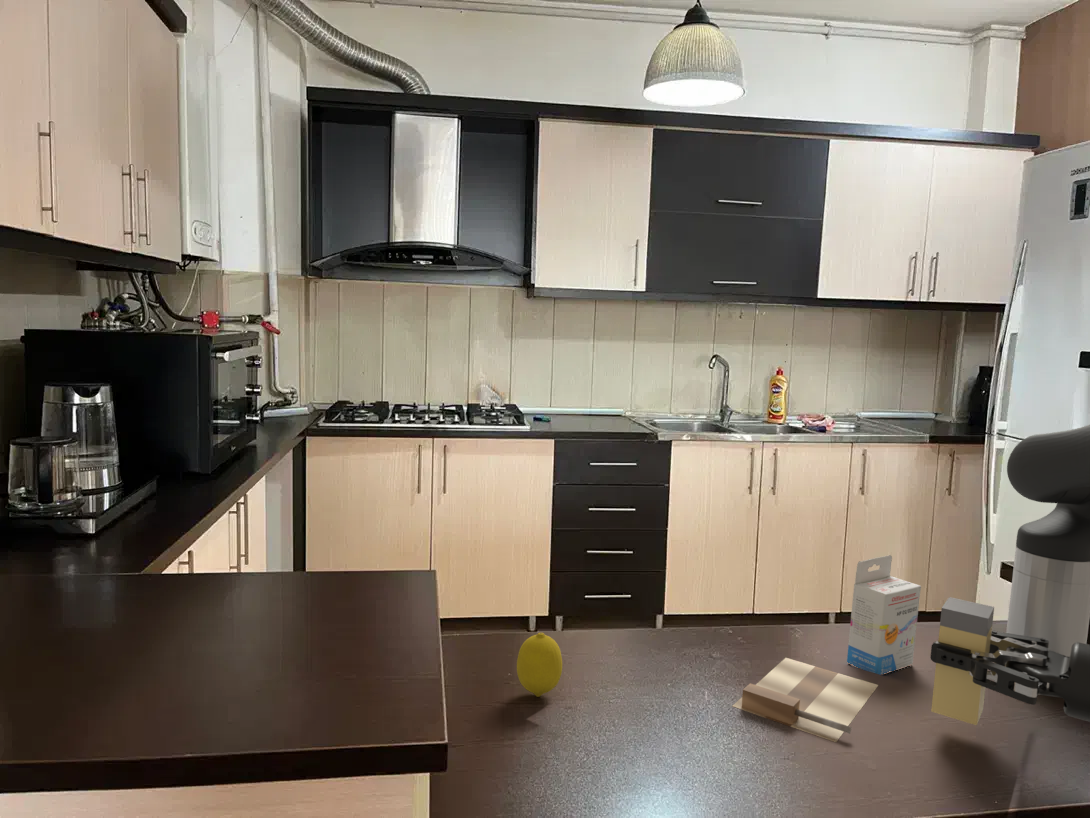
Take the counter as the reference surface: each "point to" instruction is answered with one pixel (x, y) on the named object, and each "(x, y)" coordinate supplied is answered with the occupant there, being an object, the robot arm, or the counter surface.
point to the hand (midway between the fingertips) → (937, 643)
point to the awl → (781, 707)
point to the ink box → (882, 618)
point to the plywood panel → (817, 695)
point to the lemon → (539, 664)
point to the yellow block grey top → (956, 686)
